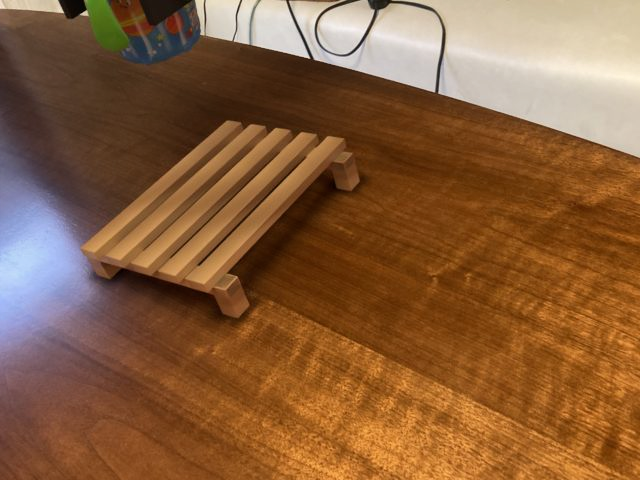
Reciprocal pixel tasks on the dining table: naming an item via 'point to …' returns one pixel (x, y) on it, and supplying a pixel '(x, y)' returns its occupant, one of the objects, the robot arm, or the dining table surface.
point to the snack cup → (142, 30)
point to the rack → (216, 208)
